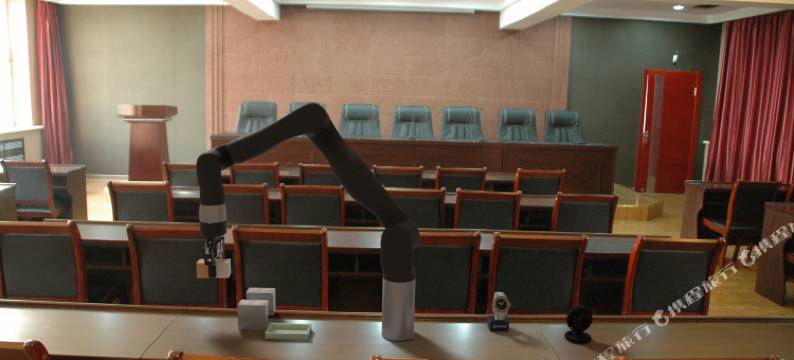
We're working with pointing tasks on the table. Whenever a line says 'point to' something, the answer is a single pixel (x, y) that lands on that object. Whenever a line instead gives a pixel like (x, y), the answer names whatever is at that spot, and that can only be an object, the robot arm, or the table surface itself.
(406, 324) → the robot arm
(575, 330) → the webcam
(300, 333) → the tray
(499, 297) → the watch
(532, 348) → the table surface
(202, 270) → the two-tone eraser block
